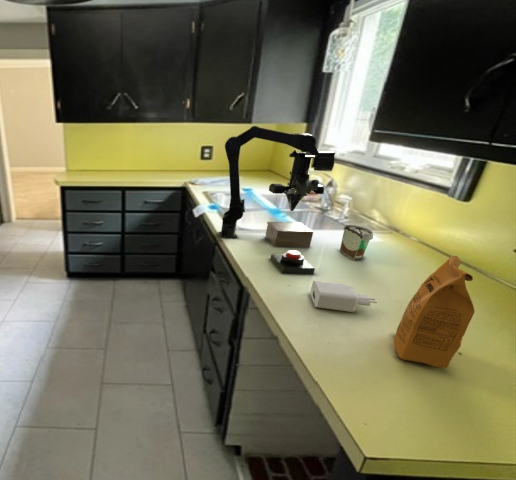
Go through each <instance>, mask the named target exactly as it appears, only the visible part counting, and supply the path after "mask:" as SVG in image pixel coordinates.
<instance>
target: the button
mask: <svg viewBox="0 0 516 480" xmlns="http://www.w3.org/2000/svg"><path fill="white" fill-rule="evenodd" d="M286 252H287V257H289V258H294V259H298V258H300V254H301V252H300V251H299V250H295V249H290V250H287V251H286ZM301 255H302V254H301Z"/></svg>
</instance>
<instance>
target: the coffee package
mask: <svg viewBox="0 0 516 480" xmlns="http://www.w3.org/2000/svg"><path fill="white" fill-rule="evenodd" d="M461 264H462V260H461V259H460V258H459V257H458V256H457V255H451V256H450V257H449V258H448V259H447V260H446V261H445V262H443V264H441V265H440V266H439V267H438V268H437V269H436V270H435V271H433V273H431V274H430V275H429V276H428V277H427V278H426V279H425V280H424V282H422V283H421V285H420V286H419V288H418V289H417V291H416V292H415V294H414V295H413V296H412V298H411V299H410V301H409V302H408V304H407V305H406V308H405V310H404V313H403V314H402V317H401V319H400V322H399V323H398V326H397V328H396V332H395V334H394V336H393V346H394V350H395V351H396V353H397V356H398V357H399V358H400V359H402V360H404V361H409V362H414V363H415V362H416V363H423V364H426V365H428V366H432V367H435V368H443V369H447V368H448V367H449V365H450V362H451V361H452V359H453V358H454V356H455V355H456V353H457V352H459V349H460V348H461V346H462V343H463V337H464V336H465V334H466V332H467V329H468V327H469V325H470V323H471V320H472V319H473V317H474V315H475V306H474V303H473V301H472V299H471V296H470V293H469V291H468V288H467V285H466V281H467V282H472V281H473V280H474V276H473V275H472V274H470V273H469V272H467V271H466V270H463V269H461V268H459V267H460V266H461Z"/></svg>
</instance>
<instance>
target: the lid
mask: <svg viewBox="0 0 516 480" xmlns="http://www.w3.org/2000/svg"><path fill="white" fill-rule="evenodd" d="M266 224H267V225H269V226H271V227H272V228H273V229H274V230H275V231H276V232H277V233H313V234H314V231H313V230H312V229H311V228H309V227H308V226H306V225H304V223H302V222H300V221H267V222H266Z"/></svg>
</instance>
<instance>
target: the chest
mask: <svg viewBox="0 0 516 480" xmlns="http://www.w3.org/2000/svg"><path fill="white" fill-rule="evenodd" d="M264 236H265V239H266V240H267V241H268V242H269V243H270V244H271V245H272V246H273V247H275V248H276V247H277V248H310V247H311V244H312V239H313V236H314V232H313V233H277V232H276V231H275V230H274V229H273V228H272V227H271V226H269V225H268V224H267V226H266V230H265V235H264Z"/></svg>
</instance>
